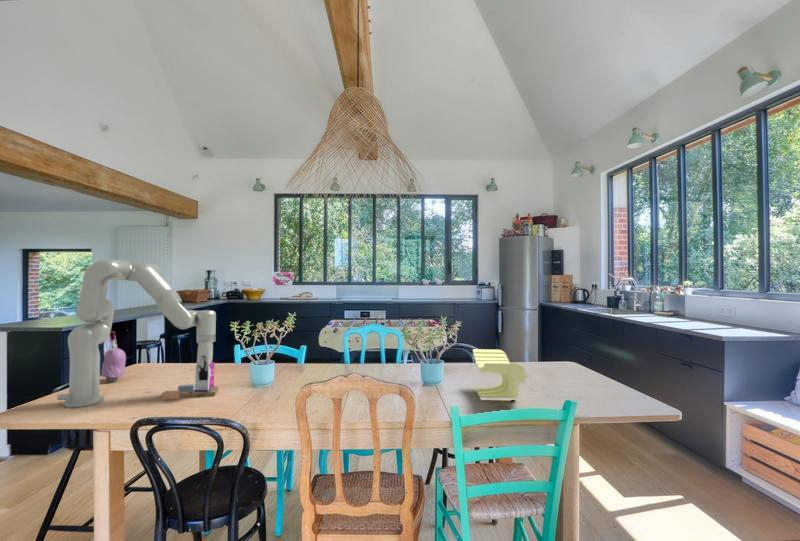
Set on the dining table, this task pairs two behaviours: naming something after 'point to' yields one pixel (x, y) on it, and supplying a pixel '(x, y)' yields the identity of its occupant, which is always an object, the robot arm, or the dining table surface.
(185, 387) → the slate brick
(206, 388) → the supplement box
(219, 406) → the dining table surface
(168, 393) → the terracotta brick
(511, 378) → the slatted curved stool
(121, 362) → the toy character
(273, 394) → the dining table surface
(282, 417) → the dining table surface
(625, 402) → the dining table surface
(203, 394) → the tan flat square block
